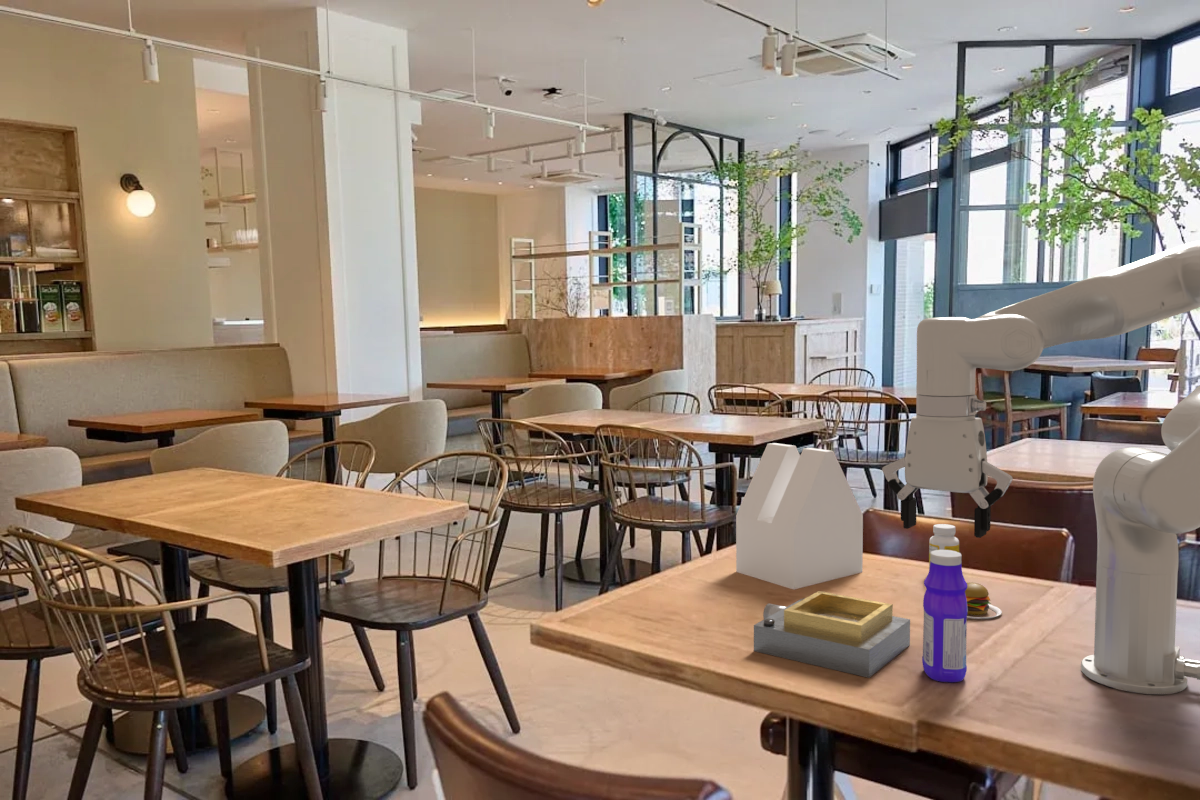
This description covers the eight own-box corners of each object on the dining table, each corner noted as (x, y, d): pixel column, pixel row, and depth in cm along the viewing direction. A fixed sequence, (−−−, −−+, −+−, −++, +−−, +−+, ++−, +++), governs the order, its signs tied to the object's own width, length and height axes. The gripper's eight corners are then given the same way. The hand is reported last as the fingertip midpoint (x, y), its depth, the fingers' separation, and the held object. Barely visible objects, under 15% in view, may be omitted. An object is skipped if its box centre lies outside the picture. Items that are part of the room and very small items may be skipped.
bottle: (970, 686, 124) (973, 560, 122) (926, 684, 125) (928, 558, 124) (960, 666, 131) (962, 546, 129) (919, 664, 132) (920, 545, 131)
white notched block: (803, 557, 193) (804, 439, 191) (862, 572, 181) (863, 446, 179) (736, 572, 182) (735, 447, 180) (793, 590, 170) (793, 456, 168)
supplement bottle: (961, 574, 178) (962, 524, 177) (955, 581, 173) (956, 530, 172) (932, 570, 181) (933, 521, 180) (925, 577, 176) (926, 527, 175)
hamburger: (987, 632, 147) (987, 598, 146) (921, 614, 156) (921, 582, 156) (1025, 616, 154) (1026, 584, 154) (960, 600, 164) (960, 570, 163)
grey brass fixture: (909, 644, 140) (910, 603, 139) (869, 677, 127) (869, 632, 127) (779, 618, 153) (779, 580, 153) (730, 645, 141) (730, 604, 140)
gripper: (1020, 408, 123) (1018, 534, 124) (894, 403, 134) (893, 519, 135) (1004, 413, 117) (1002, 545, 118) (873, 407, 128) (873, 528, 129)
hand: (944, 531), depth 127 cm, fingers open, 9 cm apart
